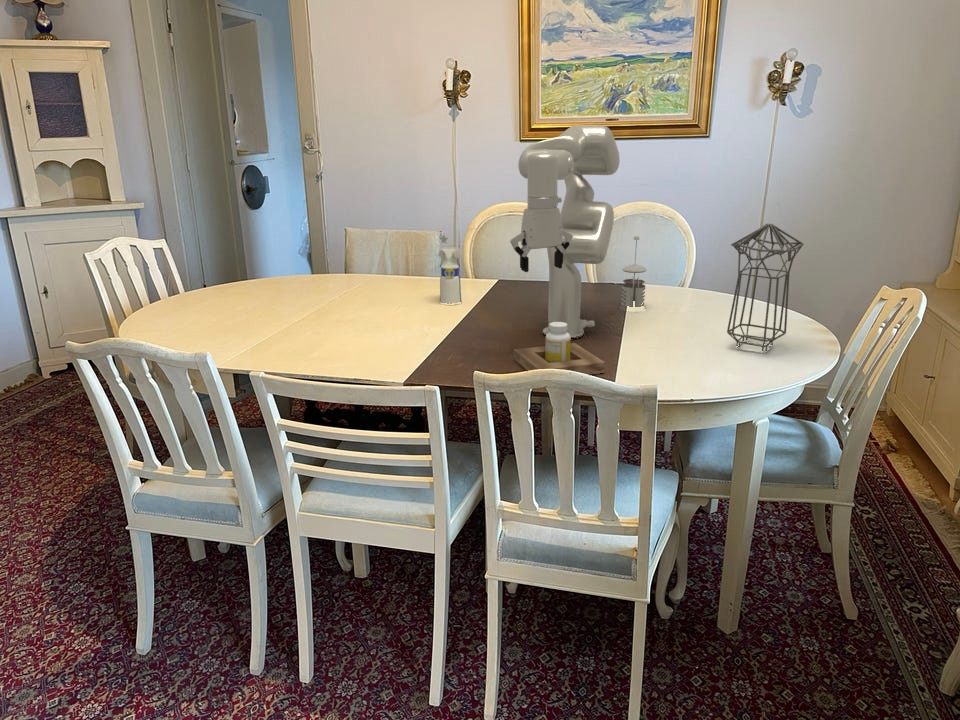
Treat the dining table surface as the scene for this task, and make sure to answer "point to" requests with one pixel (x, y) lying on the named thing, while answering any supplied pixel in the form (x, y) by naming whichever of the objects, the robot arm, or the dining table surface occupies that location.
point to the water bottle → (450, 274)
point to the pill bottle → (557, 343)
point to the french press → (633, 285)
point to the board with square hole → (578, 356)
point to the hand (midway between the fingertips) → (541, 269)
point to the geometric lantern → (781, 251)
